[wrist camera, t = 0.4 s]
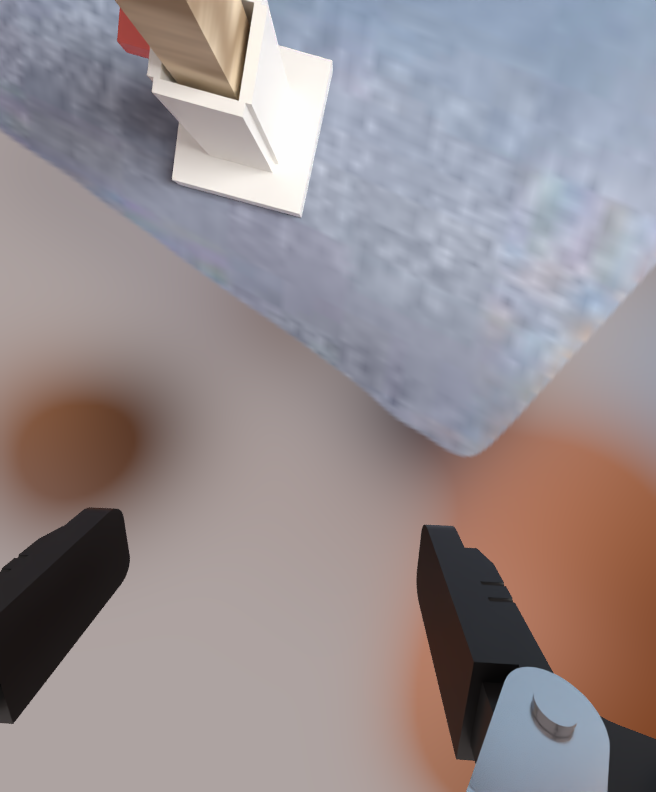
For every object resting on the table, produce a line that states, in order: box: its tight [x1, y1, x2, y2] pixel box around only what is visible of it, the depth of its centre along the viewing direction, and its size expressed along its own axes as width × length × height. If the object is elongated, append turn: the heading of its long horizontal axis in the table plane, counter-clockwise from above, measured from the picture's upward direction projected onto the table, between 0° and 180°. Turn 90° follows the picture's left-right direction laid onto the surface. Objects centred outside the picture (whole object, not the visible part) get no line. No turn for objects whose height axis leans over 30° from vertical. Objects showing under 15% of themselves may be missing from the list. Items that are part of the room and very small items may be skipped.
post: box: [115, 0, 250, 101], centre depth 20 cm, size 4×4×22 cm
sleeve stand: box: [117, 0, 333, 218], centre depth 27 cm, size 12×12×12 cm
